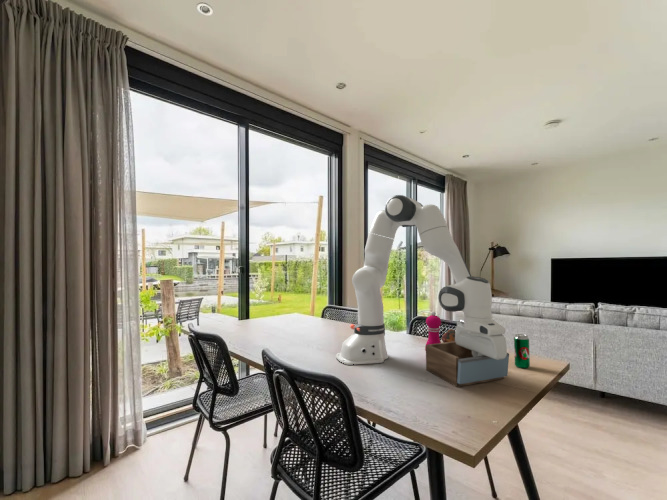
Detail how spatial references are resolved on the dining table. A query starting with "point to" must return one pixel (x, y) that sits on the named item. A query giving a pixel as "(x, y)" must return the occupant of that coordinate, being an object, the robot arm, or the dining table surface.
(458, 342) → the robot arm
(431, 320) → the pepper mill
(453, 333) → the decorative turtle
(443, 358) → the box
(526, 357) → the soda can
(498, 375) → the panel
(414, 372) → the dining table surface
